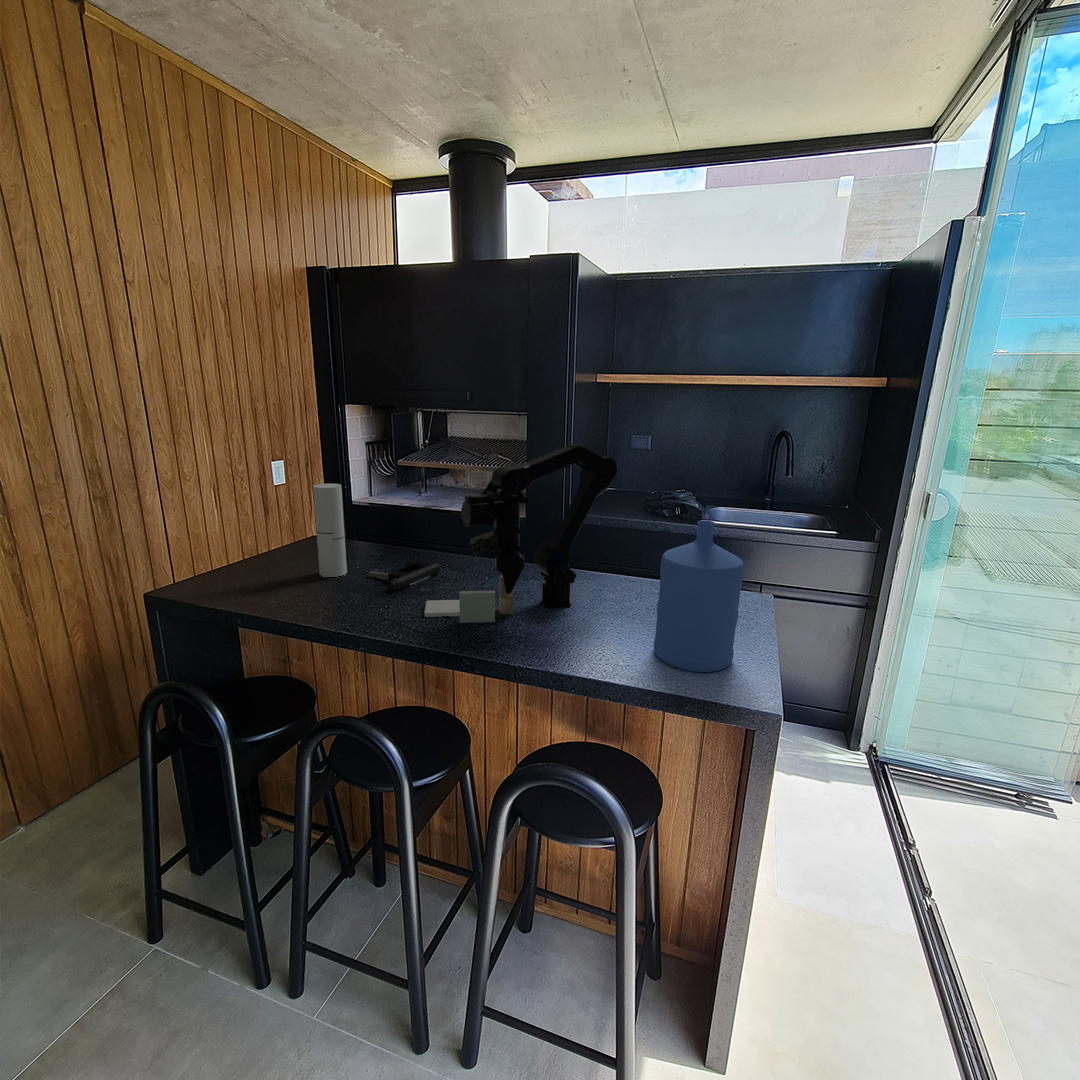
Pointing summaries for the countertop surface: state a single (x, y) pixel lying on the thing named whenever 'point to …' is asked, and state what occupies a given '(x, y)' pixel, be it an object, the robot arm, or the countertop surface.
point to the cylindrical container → (330, 529)
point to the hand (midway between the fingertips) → (506, 586)
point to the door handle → (407, 574)
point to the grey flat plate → (442, 608)
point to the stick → (505, 599)
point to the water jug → (698, 604)
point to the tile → (477, 606)
